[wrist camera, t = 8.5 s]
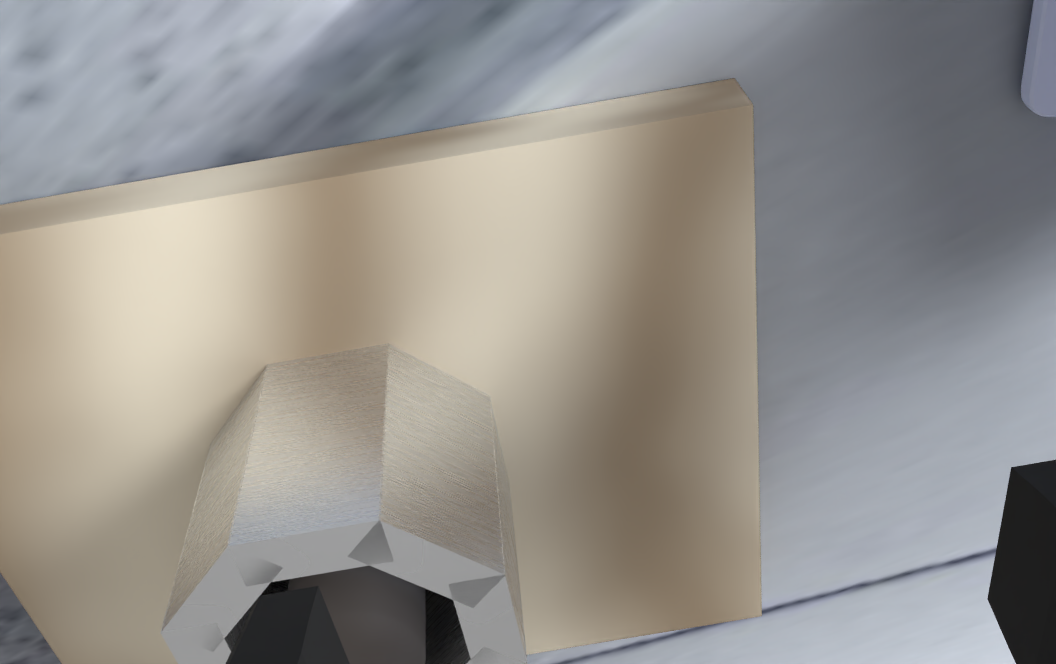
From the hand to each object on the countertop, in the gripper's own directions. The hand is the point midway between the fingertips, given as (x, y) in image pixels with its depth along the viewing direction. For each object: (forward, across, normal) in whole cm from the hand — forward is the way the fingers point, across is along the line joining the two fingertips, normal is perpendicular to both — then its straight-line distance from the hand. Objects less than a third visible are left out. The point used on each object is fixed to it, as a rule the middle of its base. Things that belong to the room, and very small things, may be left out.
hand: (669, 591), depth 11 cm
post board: (+9, +5, +5) cm, 12 cm away
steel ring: (+8, +5, +5) cm, 11 cm away
